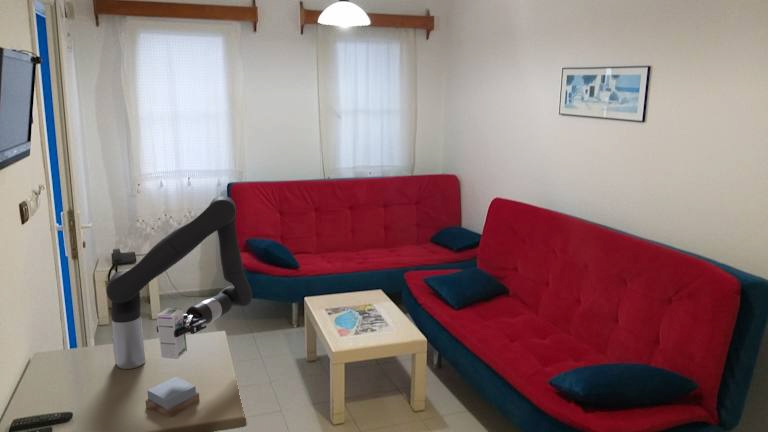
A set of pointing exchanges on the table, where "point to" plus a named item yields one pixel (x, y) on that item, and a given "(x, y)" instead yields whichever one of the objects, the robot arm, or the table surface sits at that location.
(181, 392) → the tower top
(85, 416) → the table surface
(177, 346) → the syrup box
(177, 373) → the table surface
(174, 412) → the tower base
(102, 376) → the table surface
